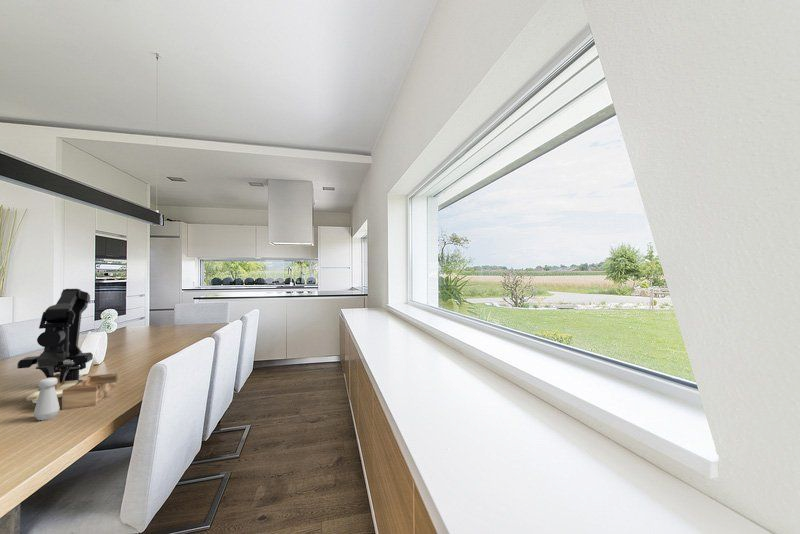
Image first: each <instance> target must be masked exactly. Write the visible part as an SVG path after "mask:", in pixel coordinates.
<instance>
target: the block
mask: <svg viewBox="0 0 800 534" xmlns="http://www.w3.org/2000/svg"><path fill="white" fill-rule="evenodd" d="M118 379H119V374H118V373H117V374H116V375H106V376H100V377H99V380H98V384H106V383H116V382H118Z"/></svg>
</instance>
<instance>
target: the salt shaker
mask: <svg viewBox="0 0 800 534" xmlns="http://www.w3.org/2000/svg"><path fill="white" fill-rule="evenodd" d="M57 382H58V380H57V378H52V377H51V378H47V377H46V378H42V379H40V380H39V381H38V383H37V386H38V388H39V389H40V388H41V389H40V393H39V396H38V400H37V403H35V408H34V410H33V416H34V418H35V419H36V420H37V421H40V420H41V422H43V421H48V420H51V419H53V418H56V417H57V415H58V413H59V411H60V409H61V407H60V403H59V397H57V394H56V390H55V386H54V385H56V384H57ZM42 420H43V421H42Z"/></svg>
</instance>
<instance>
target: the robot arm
mask: <svg viewBox="0 0 800 534" xmlns="http://www.w3.org/2000/svg"><path fill="white" fill-rule="evenodd" d="M90 302H91V295H90V294H89V292H87V291H83V290H81V289H80V288H63V289H62V292H61V293H60V297H59V298H58V300H57V302H56V303H55V304H53V305H50V306H48V307H47V308H46V310H45V311H43V313H42V315H41V319H40V323H39V326H38V329H44V331H43V332H41V333H40V334H39V335H38V337H37V338H36V342H37V344H38V345H39V346H41V347H43V352H42V353H40V355H36V356H26V357H24V358H22V359H20V360H19V361H18V362H17V367H16V368H17V369H26V368H27V369H28V368H30V367H32V366H33V365H36V367H35V370H40V372H42V373H44V376H45V377H46V378H51V377H53V376H54V375H55V374H57V373H59V374H61V375H60V383H62V382H63V380H64V379H65V381H74V380H78V383H77V384H79V383H80V382H81V381H83V380H84V379H80V370H81V371H82V370H84V369H86V368H87V363H89V362H90V361H91V360H93V359H94V355H93V353H92V352H83V351H82V350H81V349H80V347H79V341H80V333H81V331H80V330H81V323H82V314H83V313H84V311H85V310H87V308H88V304H90ZM77 384H76V385H77Z"/></svg>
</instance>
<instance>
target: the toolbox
mask: <svg viewBox="0 0 800 534" xmlns="http://www.w3.org/2000/svg"><path fill="white" fill-rule="evenodd" d="M116 374H118V372H117V373H116V372H115V373H105V374H98V375H97V374H95V375H88V376H87V377H85V378H84V379H82V380H83V381H81V382H80V383H79V384H77V385H72V386H71V387H70V388H67V389H64V390H63V392H62V396H61V411H63V410H69V409H78V408H87V407H93V406H97V405H98V404H99V403H100V402H101V401H102V400H103V399H104V398H105V397H106V396H107V395H108V394H109V393H110V392H111V391H112V390H113V389H114V388H115V387H116V386H118V385H117V382H118V381H117V382H116V383H106V384H98V380H99V377H100V376H106V375H116ZM112 388H113V389H112ZM111 389H112V390H111ZM110 390H111V391H110ZM109 391H110V392H109ZM108 392H109V393H108ZM107 393H108V394H107ZM106 394H107V395H106ZM105 395H106V396H105ZM104 396H105V397H104ZM103 397H104V398H103ZM102 398H103V399H102ZM101 399H102V400H101ZM100 400H101V401H100Z"/></svg>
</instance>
